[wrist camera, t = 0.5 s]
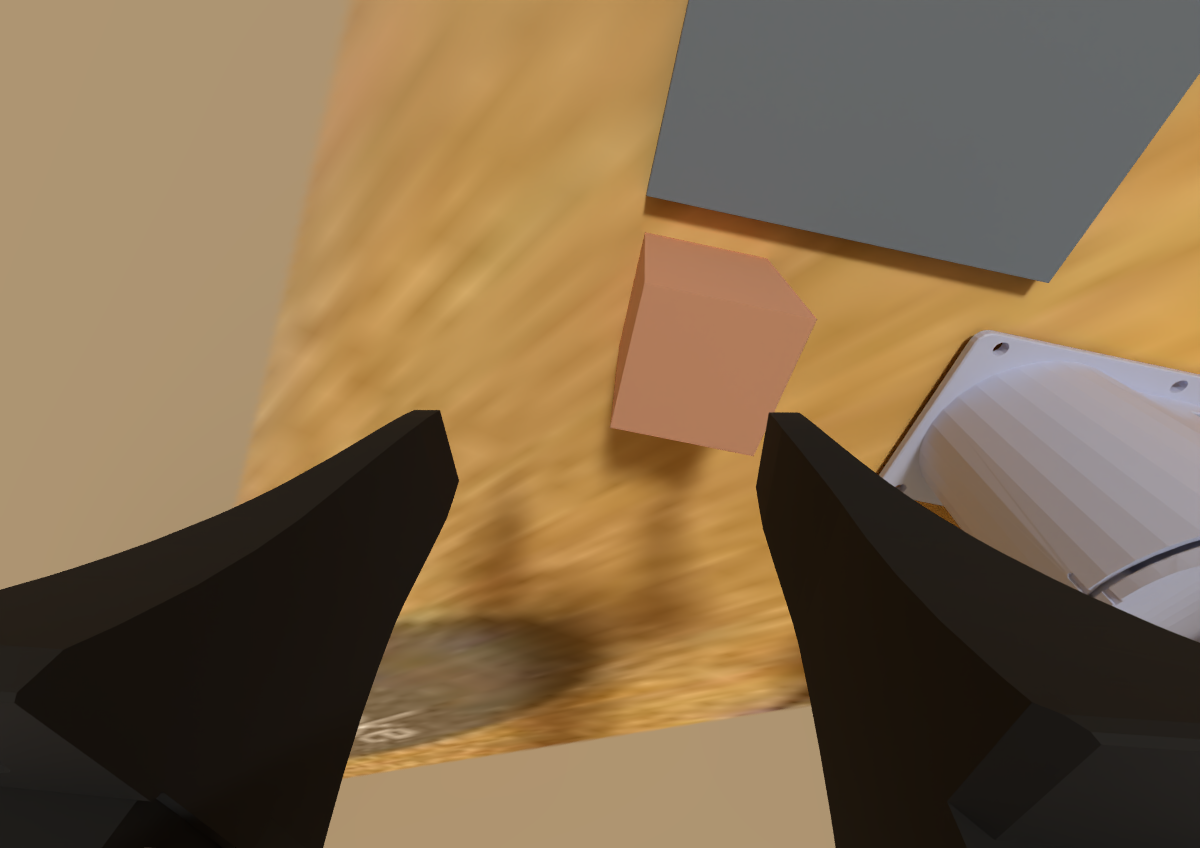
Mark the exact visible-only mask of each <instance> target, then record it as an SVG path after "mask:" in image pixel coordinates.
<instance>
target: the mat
mask: <svg viewBox="0 0 1200 848" xmlns="http://www.w3.org/2000/svg"><path fill="white" fill-rule="evenodd" d="M1199 74H1200V0H688V5H687V10H686V14H685V19H684V23H683V28H682V32H681V37H680V42H679V46H678V51H677V55H676V60H675V65H674V69H673V74H672V78H671V83H670V88H669V92H668V97H667V101H666V106H665V111H664V115H663V120H662V124H661V129H660V133H659V138H658V143H657V147H656V152H655V156H654V161H653V166H652V170H651V175H650V179H649V184H648V189H647V196H650V197H655V198H659V199H664V200H668V201H673V202H678V203H682V204H687V205H691V206H696V207H701V208H705V209H710V210H715V211H719V212H724V213H728V214H733V215H738V216H742V217H747V218H751V219H756V220H761V221H765V222H770V223H774V224H779V225H784V226H788V227H793V228H797V229H802V230H807V231H811V232H816V233H820V234H825V235H830V236H834V237H839V238H844V239H848V240H853V241H857V242H862V243H867V244H871V245H876V246H880V247H885V248H890V249H894V250H899V251H903V252H908V253H913V254H917V255H922V256H926V257H931V258H936V259H940V260H945V261H950V262H954V263H959V264H963V265H968V266H973V267H977V268H982V269H986V270H991V271H996V272H1000V273H1005V274H1009V275H1014V276H1019V277H1023V278H1028V279H1032V280H1037V281H1042V282H1046V283H1049V282H1050V280H1051V279H1052V278H1053V276H1054V275H1055V273H1056V272H1057V271H1058V269H1059V268H1060V267H1061V265H1062V264H1063V262H1064V261H1065V260H1066V258H1067V257H1068V255H1069V254H1070V253H1071V251H1072V250H1073V248H1074V247H1075V246H1076V244H1077V243H1078V242H1079V240H1080V239H1081V237H1082V236H1083V235H1084V233H1085V232H1086V230H1087V229H1088V228H1089V226H1090V225H1091V223H1092V222H1093V221H1094V219H1095V218H1096V217H1097V215H1098V214H1099V212H1100V211H1101V210H1102V208H1103V207H1104V205H1105V204H1106V203H1107V201H1108V200H1109V198H1110V197H1111V196H1112V194H1113V193H1114V192H1115V190H1116V189H1117V187H1118V186H1119V185H1120V183H1121V182H1122V180H1123V179H1124V178H1125V176H1126V175H1127V173H1128V172H1129V171H1130V169H1131V168H1132V167H1133V165H1134V164H1135V162H1136V161H1137V160H1138V158H1139V157H1140V155H1141V154H1142V153H1143V151H1144V150H1145V149H1146V147H1147V146H1148V144H1149V143H1150V142H1151V140H1152V139H1153V137H1154V136H1155V135H1156V133H1157V132H1158V130H1159V129H1160V128H1161V126H1162V125H1163V124H1164V122H1165V121H1166V119H1167V118H1168V117H1169V115H1170V114H1171V112H1172V111H1173V110H1174V108H1175V107H1176V105H1177V104H1178V103H1179V101H1180V100H1181V99H1182V97H1183V96H1184V94H1185V93H1186V92H1187V90H1188V89H1189V87H1190V86H1191V85H1192V83H1193V82H1194V80H1195V79H1196V78H1197V76H1198V75H1199Z"/></svg>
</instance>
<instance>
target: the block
mask: <svg viewBox="0 0 1200 848" xmlns="http://www.w3.org/2000/svg"><path fill="white" fill-rule="evenodd" d="M816 320H817V319H816V318H815V316H814V315H813V314H812V313H811V311H810V310H809V309H808V308H807V307H806V305H805V304H804V303H803V302H802V300H801V299H800V298H799V297H798V295H797V294H796V293H795V292H794V291H793V289H792V288H791V287H790V286H789V284H788V283H787V282H786V281H785V280H784V278H783V277H782V276H781V275H780V273H779V272H778V271H777V270H776V268H775V267H774V266H773V265H772V264H771V262H770V261H769V260H768V259H767V258H763V257H758V256H753V255H749V254H744V253H739V252H735V251H730V250H725V249H721V248H716V247H711V246H707V245H702V244H697V243H693V242H688V241H683V240H679V239H674V238H669V237H665V236H660V235H655V234H651V233H646V232H645V235H644V239H643V244H642V248H641V253H640V257H639V261H638V266H637V270H636V275H635V279H634V284H633V288H632V292H631V297H630V301H629V306H628V310H627V315H626V319H625V323H624V328H623V332H622V337H621V341H620V346H619V354H618V362H617V371H616V380H615V389H614V398H613V406H612V415H611V424H610V428H615V429H620V430H625V431H630V432H635V433H640V434H645V435H650V436H655V437H660V438H665V439H670V440H675V441H680V442H685V443H690V444H695V445H700V446H705V447H710V448H715V449H720V450H725V451H730V452H735V453H740V454H745V455H750V456H754V454H755V452H756V450H757V447H758V445H759V443H760V441H761V439H762V437H763V435H764V432H765V430H766V426H767V420H768V414H769V412H774V411H775V409H776V407H777V404H778V402H779V400H780V398H781V396H782V394H783V391H784V389H785V387H786V385H787V383H788V381H789V379H790V376H791V374H792V372H793V370H794V368H795V366H796V363H797V361H798V359H799V357H800V355H801V353H802V351H803V348H804V346H805V344H806V342H807V340H808V338H809V335H810V333H811V331H812V329H813V327H814V325H815V323H816Z"/></svg>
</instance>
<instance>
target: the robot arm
mask: <svg viewBox="0 0 1200 848" xmlns="http://www.w3.org/2000/svg"><path fill="white" fill-rule="evenodd" d="M1000 343H1002V345H1001V347H1000V348H999V349H997V350H995V351H993V349H994V347H995V346H996V345H997V344H1000ZM1173 384H1174V385H1173ZM458 482H459V479H458V475H457V472H456V468H455V464H454V461H453V457H452V453H451V450H450V446H449V442H448V439H447V435H446V431H445V427H444V424H443V420H442V416H441V413H440V410H413V411H411V412H409V413H407V414H405V415H403V416H401V417H399V418H397V419H395V420H394V421H392V422H390V423H388V424H387V425H385V426H383V427H382V428H380V429H378V430H377V431H375V432H373V433H371V434H370V435H368V436H366V437H365V438H363V439H361V440H360V441H358V442H356V443H355V444H353V445H351V446H350V447H348V448H346V449H345V450H343V451H341V452H340V453H338V454H336V455H335V456H333V457H331V458H329V459H327V460H326V461H324V462H322V463H320V464H318V465H317V466H315V467H313V468H311V469H309V470H308V471H306V472H304V473H302V474H300V475H299V476H297V477H295V478H293V479H291V480H290V481H288V482H286V483H284V484H282V485H280V486H278V487H276V488H274V489H272V490H270V491H268V492H266V493H264V494H262V495H260V496H258V497H256V498H254V499H252V500H249V501H247V502H245V503H243V504H241V505H239V506H237V507H234V508H232V509H230V510H228V511H226V512H223V513H221V514H219V515H216V516H214V517H212V518H209V519H207V520H204V521H202V522H199V523H197V524H194V525H192V526H189V527H187V528H184V529H182V530H179V531H177V532H174V533H172V534H169V535H167V536H165V537H162V538H159V539H157V540H154V541H151V542H149V543H146V544H144V545H140V546H138V547H135V548H132V549H129V550H126V551H123V552H121V553H118V554H115V555H112V556H109V557H106V558H103V559H100V560H97V561H94V562H91V563H88V564H85V565H82V566H79V567H76V568H73V569H70V570H67V571H63V572H60V573H57V574H54V575H50V576H47V577H44V578H40V579H37V580H33V581H30V582H26V583H22V584H19V585H15V586H12V587H8V588H5V589H1V590H0V848H323V846H324V842H325V838H326V835H327V831H328V828H329V823H330V820H331V817H332V813H333V810H334V806H335V802H336V799H337V795H338V791H339V788H340V784H341V781H342V777H343V774H344V771H345V767H346V764H347V761H348V758H349V755H350V751H351V748H352V745H353V742H354V739H355V735H356V732H357V729H358V726H359V723H360V719H361V716H362V713H363V710H364V708H365V705H366V702H367V699H368V696H369V693H370V690H371V687H372V684H373V682H374V679H375V676H376V673H377V670H378V667H379V665H380V662H381V659H382V657H383V654H384V651H385V649H386V646H387V643H388V641H389V638H390V636H391V633H392V630H393V628H394V625H395V623H396V620H397V618H398V616H399V614H400V612H401V609H402V607H403V605H404V603H405V601H406V599H407V597H408V595H409V593H410V591H411V589H412V587H413V585H414V583H415V581H416V579H417V577H418V575H419V573H420V571H421V569H422V567H423V565H424V563H425V561H426V559H427V557H428V555H429V553H430V551H431V549H432V547H433V545H434V543H435V541H436V539H437V537H438V535H439V533H440V531H441V529H442V527H443V525H444V523H445V521H446V519H447V516H448V513H449V510H450V507H451V504H452V502H453V498H454V495H455V492H456V489H457V485H458ZM900 484H902V485H901V486H899V487H896V486H897V485H900ZM756 490H757V497H758V503H759V509H760V515H761V520H762V525H763V530H764V533H765V536H766V540H767V543H768V546H769V549H770V553H771V556H772V559H773V562H774V565H775V568H776V572H777V575H778V578H779V581H780V584H781V587H782V590H783V594H784V597H785V600H786V603H787V606H788V609H789V612H790V615H791V619H792V622H793V625H794V629H795V633H796V636H797V640H798V644H799V648H800V653H801V658H802V663H803V667H804V672H805V677H806V682H807V687H808V691H809V696H810V702H811V707H812V712H813V717H814V723H815V728H816V733H817V738H818V743H819V749H820V755H821V761H822V767H823V772H824V778H825V784H826V790H827V796H828V802H829V807H830V814H831V820H832V826H833V833H834V839H835V846H836V848H1200V375H1199V374H1195V373H1190V372H1185V371H1180V370H1176V369H1171V368H1166V367H1162V366H1157V365H1152V364H1147V363H1143V362H1138V361H1133V360H1129V359H1124V358H1119V357H1115V356H1110V355H1105V354H1100V353H1096V352H1091V351H1086V350H1082V349H1077V348H1072V347H1067V346H1063V345H1058V344H1053V343H1049V342H1044V341H1039V340H1035V339H1030V338H1025V337H1020V336H1016V335H1011V334H1006V333H1002V332H997V331H992V330H984V331H981V332H979V333H977V334H975V335H974V336H973V337H972V338H971V339H970V340H969V342H968V343H967V345H966V346H965V348H964V349H963V351H962V352H961V354H960V355H959V357H958V358H957V360H956V361H955V363H954V364H953V366H952V367H951V369H950V370H949V372H948V373H947V375H946V376H945V378H944V379H943V380H942V382H941V383H940V385H939V386H938V388H937V389H936V391H935V392H934V394H933V395H932V397H931V398H930V400H929V401H928V403H927V404H926V406H925V407H924V409H923V410H922V412H921V413H920V415H919V416H918V418H917V419H916V421H915V422H914V424H913V425H912V427H911V428H910V430H909V431H908V433H907V434H906V436H905V437H904V439H903V440H902V441H901V443H900V444H899V446H898V447H897V449H896V450H895V452H894V453H893V455H892V456H891V458H890V459H889V461H888V462H887V464H886V465H885V467H884V468H883V470H882V471H881V473H880V474H879V475H878V474H876V473H875V472H874V471H872V470H871V469H870V468H868V467H867V466H866V465H864V464H863V463H862V462H860V461H859V460H858V459H857V458H855V457H854V456H853V455H852V454H850V453H849V452H848V451H847V450H845V449H844V448H843V447H842V446H840V445H839V444H838V443H837V442H835V441H834V440H833V439H832V438H830V437H829V436H828V435H827V434H826V433H824V432H823V431H822V430H821V429H819V428H818V427H817V426H816V425H815V424H813V423H812V422H811V421H810V420H808V419H807V418H806V417H804V416H803V415H802V414H800V413H775V412H769V414H768V420H767V426H766V432H765V438H764V443H763V449H762V455H761V461H760V467H759V473H758V479H757V485H756ZM914 500H916V501H921V502H926V503H931V504H936V505H941V506H944V507H945V508H946V510H947V511H948V512H949V514H950V515H951V516H952V518H953V519H954V520H955V522H956V523H957V524H958V526H959V527H960V528H961V529H959V528H958V527H956V526H954V525H953V524H951V523H949V522H948V521H946V520H944V519H943V518H941V517H939V516H938V515H936V514H934V513H933V512H931V511H930V510H928V509H927V508H925V507H924V506H922V505H920V504H919V503H917V502H916V501H914Z"/></svg>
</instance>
